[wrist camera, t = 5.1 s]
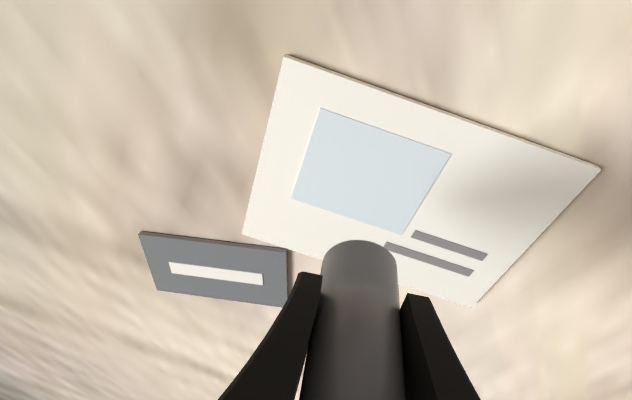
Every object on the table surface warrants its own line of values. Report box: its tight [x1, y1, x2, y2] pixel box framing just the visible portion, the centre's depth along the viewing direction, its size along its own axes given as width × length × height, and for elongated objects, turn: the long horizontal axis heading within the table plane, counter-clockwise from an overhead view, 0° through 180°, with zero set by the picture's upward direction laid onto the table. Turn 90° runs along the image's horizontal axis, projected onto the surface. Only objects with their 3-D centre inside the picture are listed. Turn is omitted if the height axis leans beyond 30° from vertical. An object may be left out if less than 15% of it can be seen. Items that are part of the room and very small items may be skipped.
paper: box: [242, 54, 601, 308], centre depth 17 cm, size 14×10×1 cm
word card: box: [138, 231, 288, 307], centre depth 22 cm, size 9×5×1 cm, turn 88°
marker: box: [299, 240, 406, 400], centre depth 9 cm, size 3×3×7 cm
